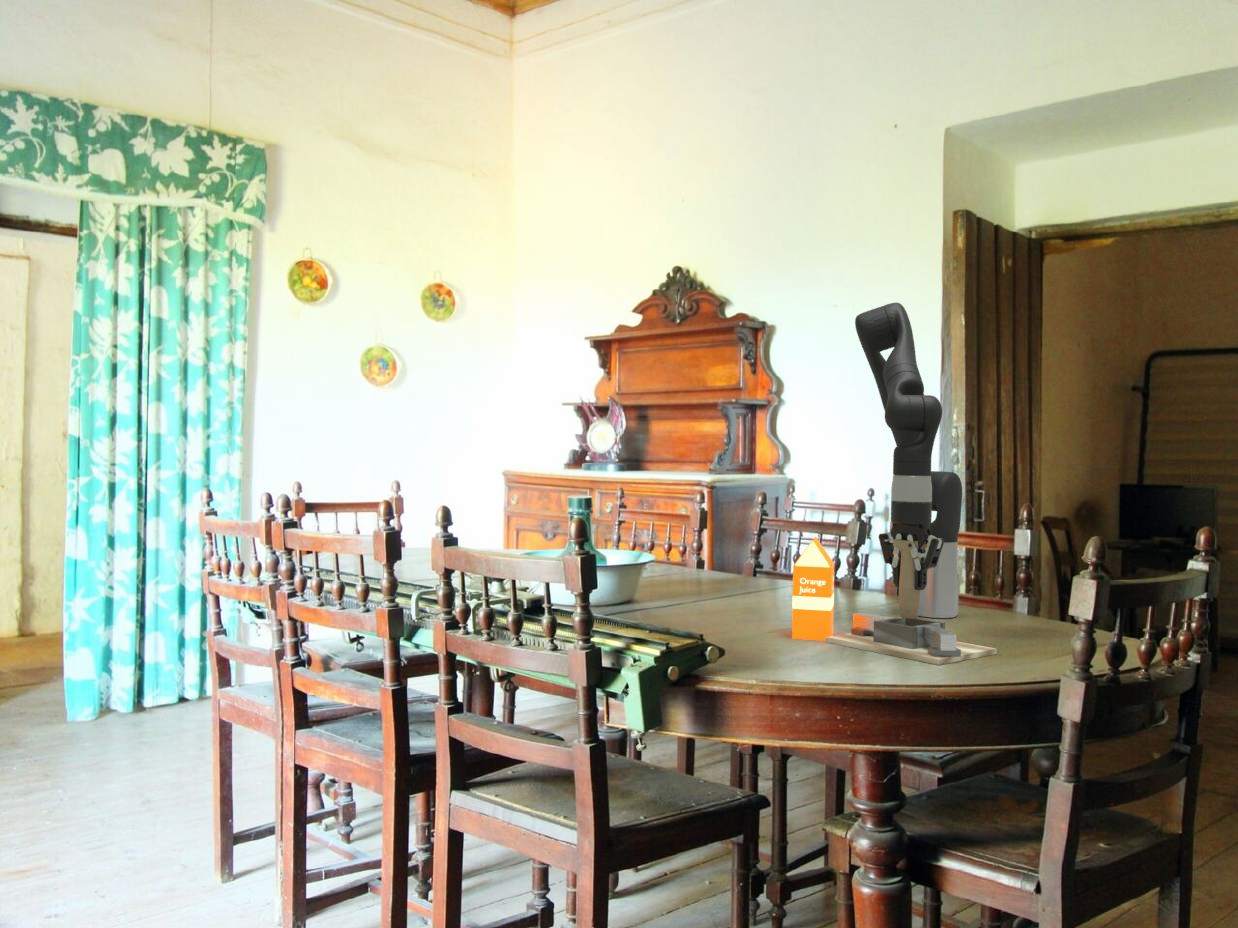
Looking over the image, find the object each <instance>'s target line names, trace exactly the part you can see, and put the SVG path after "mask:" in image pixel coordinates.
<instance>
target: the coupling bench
mask: <svg viewBox="0 0 1238 928" xmlns="http://www.w3.org/2000/svg"><path fill="white" fill-rule="evenodd" d="M923 625H937V626H939V627H941V628H943V629H945V630H946V622H942V621H936V620H930V619H923V618H918V617H917V618H916V619H907V618H901V616H900V617H892V618H891V619H884V620H879V621H878V620H877V621H874V635H871V636H865V637H862V636H857V635H852V634H851V632H850V633H849V632H848V633H843V634H837V635H832V636H828V637H826V641H825V643H828V644H829V643H830V644H833V645H838V646H844V647H848V648H853V649H857V650H859V649H860V650H862V651H868V652H873V653H874V652H875V653H877V654H883V655H887V656H888V655H889V656H891V657H892V656H893V657H898V658H903V659H907V660H912V661H916V662H922V663H927V664H930V665H931V664H932V665H935V666H936V665H937V666H942V665H946V664H952V663H956V662H961V661H966V660H973V659H978V658H983V657H987V656H988V657H989V656H993V655H997V649H998V648H994V647H991V646H984V645H977V644H973V643H968V642H962V641H961V642H960V641H957V640H956V648H958V649H960V650H961V657H940V656H932V655H930V654H928V647H933V646H932V645H930V644H928V643H926V642H924V641H923V637H924V626H923Z"/></svg>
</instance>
